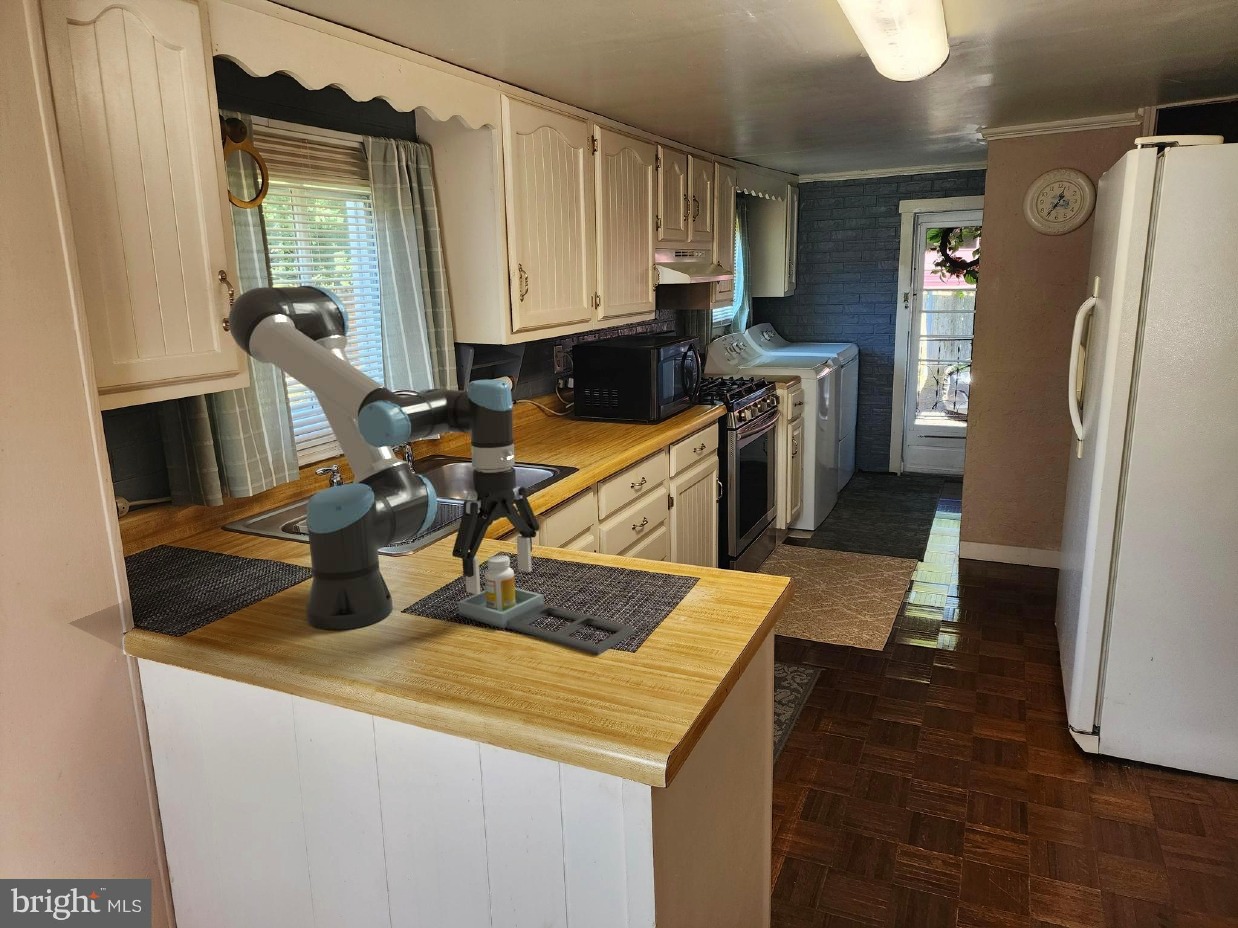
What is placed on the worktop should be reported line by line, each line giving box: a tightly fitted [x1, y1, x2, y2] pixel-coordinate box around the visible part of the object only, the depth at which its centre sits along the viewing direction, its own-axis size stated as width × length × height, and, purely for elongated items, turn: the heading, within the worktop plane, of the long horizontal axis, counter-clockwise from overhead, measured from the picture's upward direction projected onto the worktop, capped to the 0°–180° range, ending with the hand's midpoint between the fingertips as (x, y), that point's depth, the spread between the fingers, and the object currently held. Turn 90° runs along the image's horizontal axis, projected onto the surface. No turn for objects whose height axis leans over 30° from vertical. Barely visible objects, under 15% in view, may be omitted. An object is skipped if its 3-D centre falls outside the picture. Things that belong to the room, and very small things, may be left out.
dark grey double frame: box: [506, 603, 634, 655], centre depth 147 cm, size 10×20×1 cm, turn 55°
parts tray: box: [457, 587, 545, 629], centre depth 156 cm, size 11×11×3 cm
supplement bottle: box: [484, 554, 516, 612], centre depth 155 cm, size 5×5×10 cm
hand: (500, 581), depth 155 cm, fingers open, 13 cm apart
